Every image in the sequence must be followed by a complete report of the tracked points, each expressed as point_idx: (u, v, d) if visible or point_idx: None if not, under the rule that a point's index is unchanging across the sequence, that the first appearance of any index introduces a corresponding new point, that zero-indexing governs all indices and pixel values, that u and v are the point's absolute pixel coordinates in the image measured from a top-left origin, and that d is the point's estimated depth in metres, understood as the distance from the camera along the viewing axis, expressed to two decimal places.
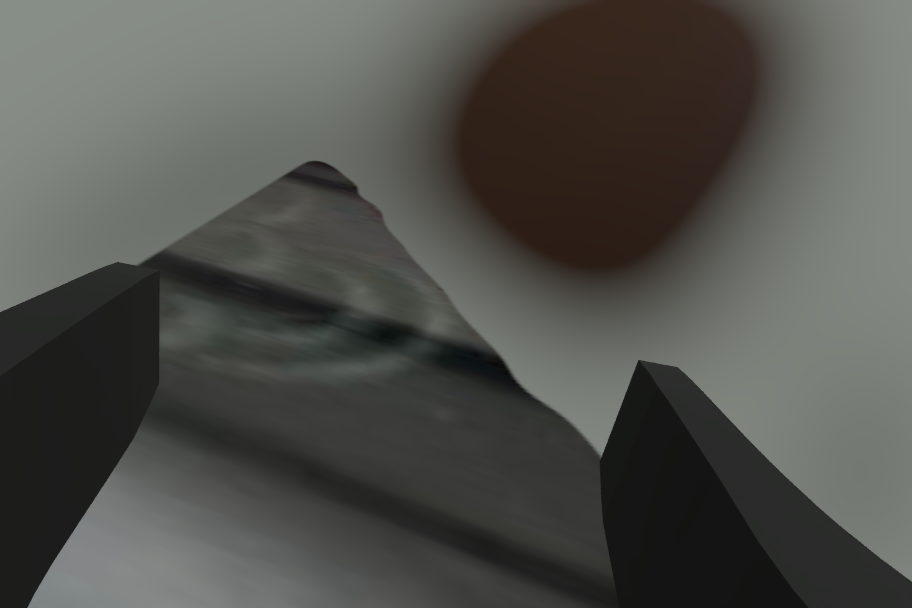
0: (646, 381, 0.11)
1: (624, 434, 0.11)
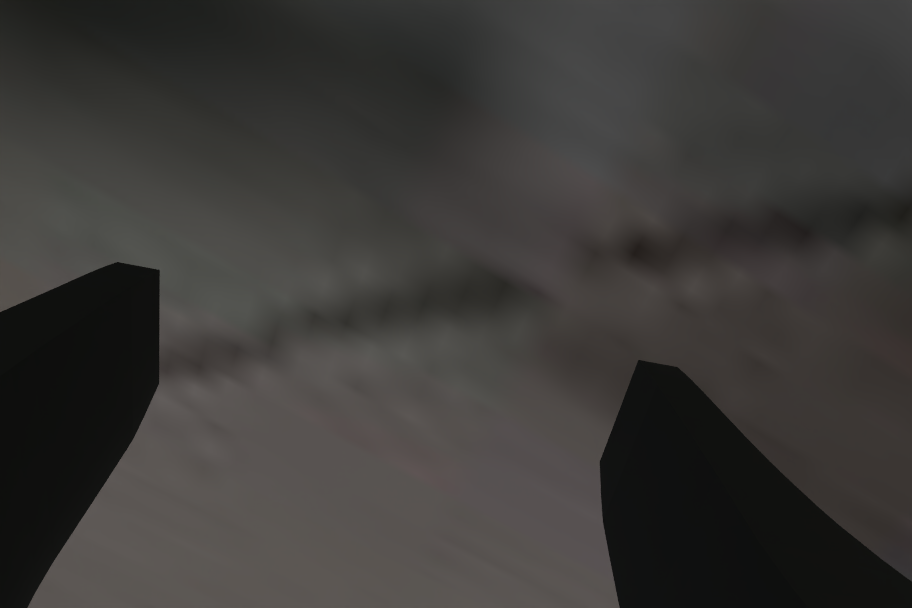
0: (646, 381, 0.11)
1: (624, 434, 0.11)
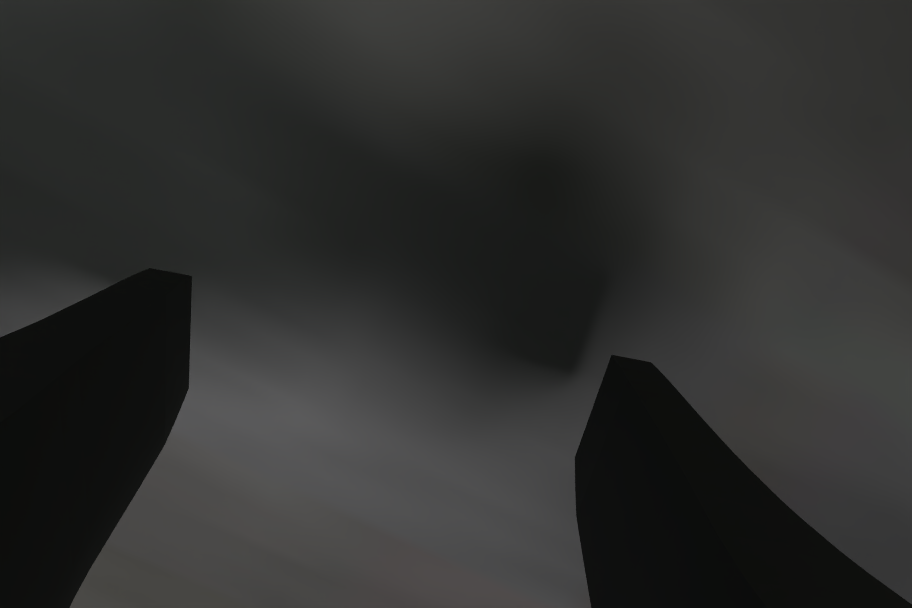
0: (618, 376, 0.11)
1: (597, 429, 0.11)
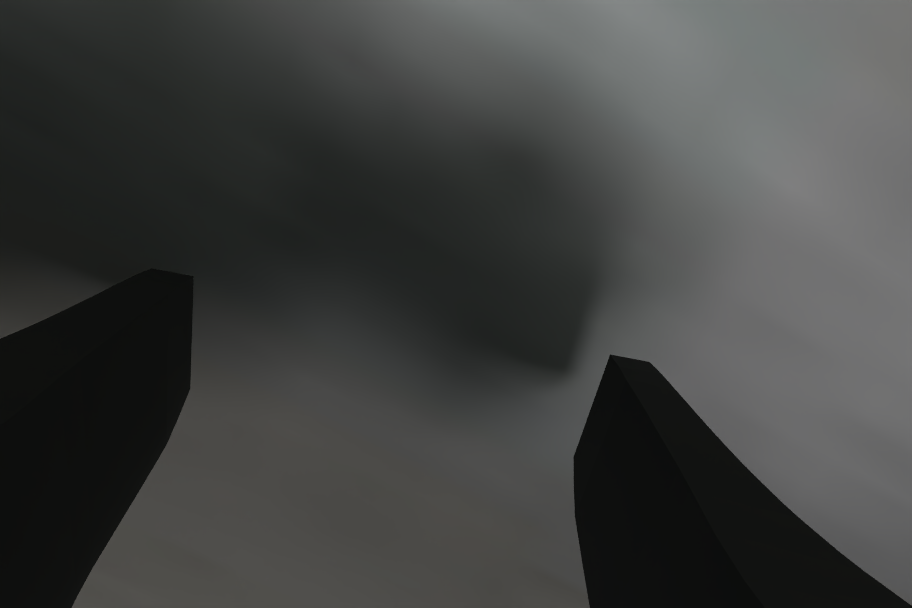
0: (616, 375, 0.11)
1: (595, 429, 0.11)
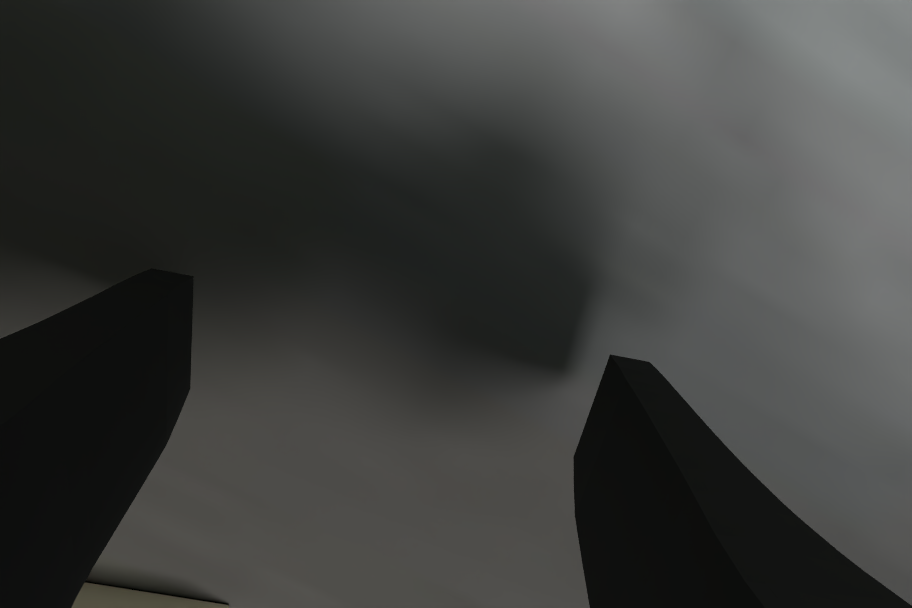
0: (616, 375, 0.11)
1: (595, 429, 0.11)
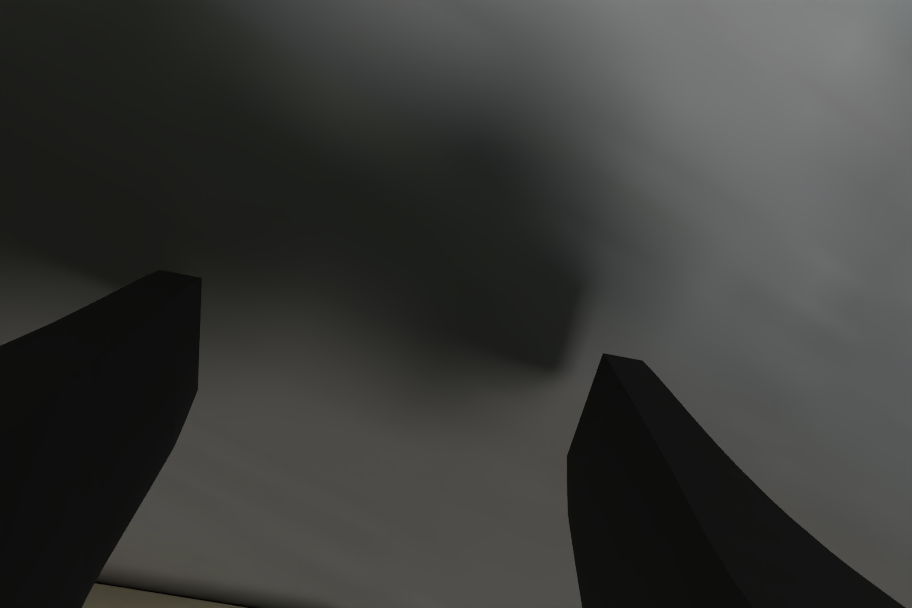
0: (609, 374, 0.11)
1: (588, 428, 0.11)
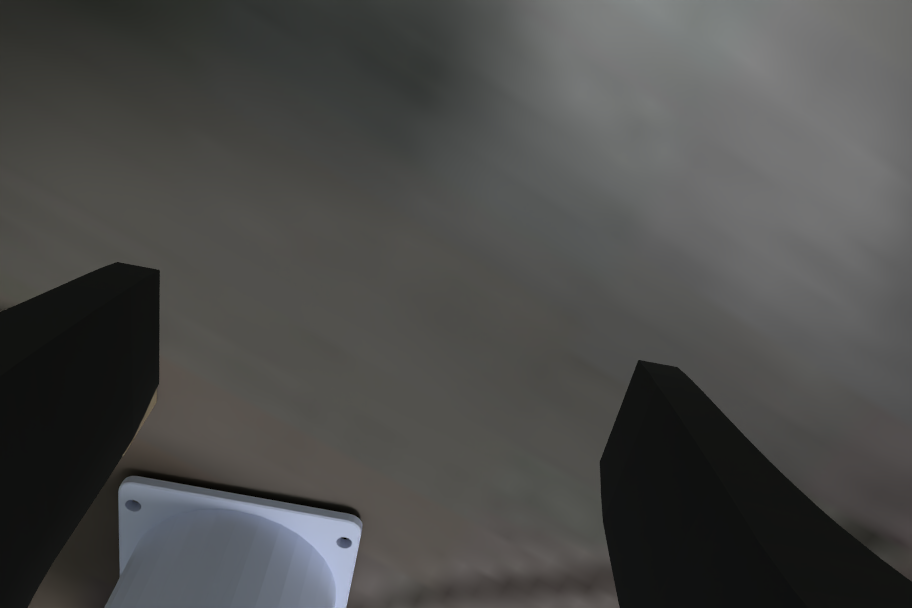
0: (646, 381, 0.11)
1: (624, 434, 0.11)
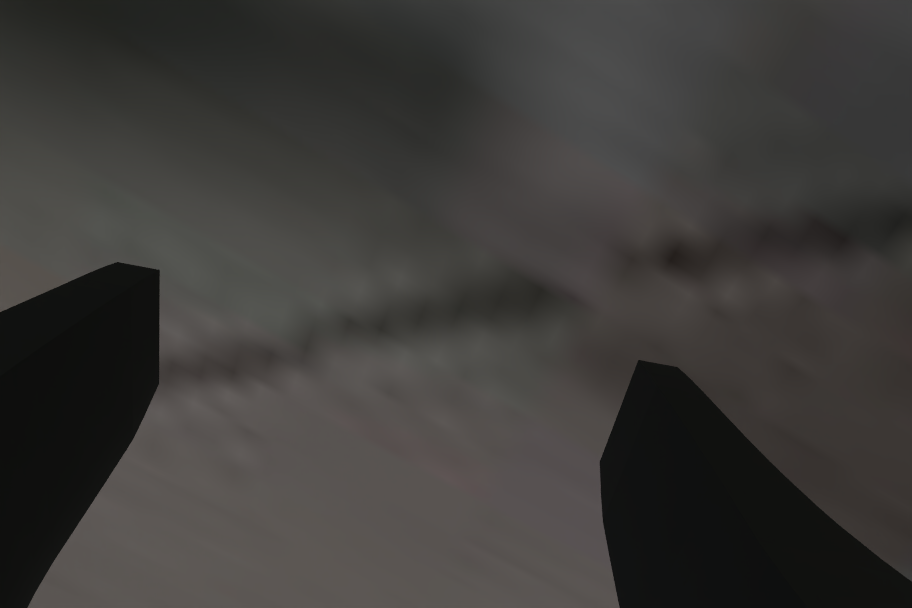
0: (646, 381, 0.11)
1: (624, 434, 0.11)
